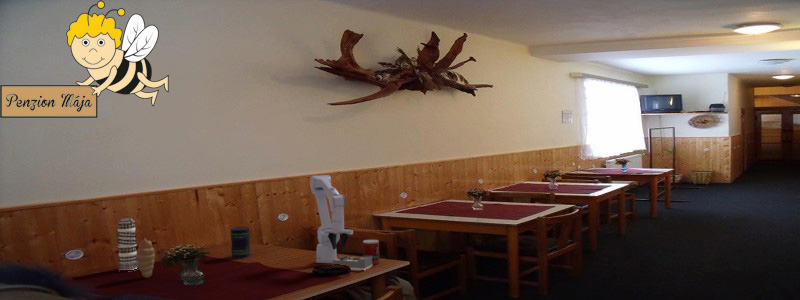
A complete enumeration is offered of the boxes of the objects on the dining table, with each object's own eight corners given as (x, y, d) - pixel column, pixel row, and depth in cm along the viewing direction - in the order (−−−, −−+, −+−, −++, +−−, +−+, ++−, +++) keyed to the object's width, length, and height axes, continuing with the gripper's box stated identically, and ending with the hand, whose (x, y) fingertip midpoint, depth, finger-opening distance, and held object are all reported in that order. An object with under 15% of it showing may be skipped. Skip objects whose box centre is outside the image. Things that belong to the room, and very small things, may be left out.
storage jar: (230, 256, 317) (229, 228, 317) (248, 254, 321) (247, 226, 321) (233, 259, 308) (232, 230, 308) (252, 257, 312) (251, 228, 312)
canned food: (372, 265, 282) (372, 242, 282) (360, 264, 287) (359, 241, 287) (382, 262, 288) (382, 240, 288) (370, 261, 293) (369, 239, 293)
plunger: (339, 265, 278) (339, 258, 278) (345, 263, 284) (345, 255, 284) (348, 266, 276) (348, 258, 276) (354, 263, 283) (353, 255, 282)
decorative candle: (113, 271, 288) (111, 219, 288) (130, 267, 297) (128, 217, 296) (126, 272, 284) (124, 220, 284) (142, 268, 292) (140, 217, 292)
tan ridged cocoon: (138, 276, 275) (136, 237, 274) (156, 274, 277) (154, 236, 277) (136, 280, 266) (135, 240, 266) (155, 278, 269) (154, 239, 269)
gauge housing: (331, 269, 278) (330, 258, 278) (339, 264, 288) (339, 254, 287) (364, 270, 273) (364, 259, 273) (372, 265, 282) (372, 255, 282)
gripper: (320, 221, 280) (321, 250, 281) (348, 222, 276) (349, 251, 276) (326, 219, 287) (327, 247, 287) (354, 220, 282) (355, 248, 283)
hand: (338, 249), depth 282 cm, fingers open, 4 cm apart
